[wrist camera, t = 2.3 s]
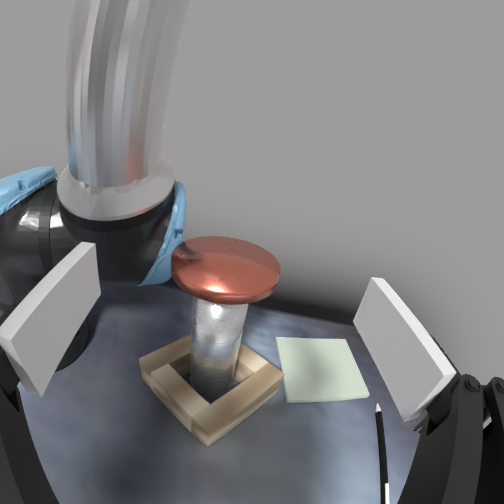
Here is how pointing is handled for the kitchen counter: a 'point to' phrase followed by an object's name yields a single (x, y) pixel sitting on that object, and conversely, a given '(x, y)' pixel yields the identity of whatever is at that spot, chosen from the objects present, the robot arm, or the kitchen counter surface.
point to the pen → (382, 457)
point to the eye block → (193, 405)
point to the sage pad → (319, 370)
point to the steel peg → (220, 303)
